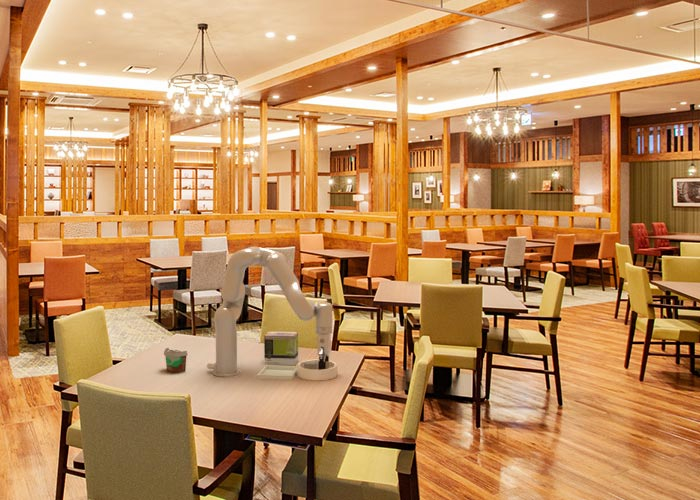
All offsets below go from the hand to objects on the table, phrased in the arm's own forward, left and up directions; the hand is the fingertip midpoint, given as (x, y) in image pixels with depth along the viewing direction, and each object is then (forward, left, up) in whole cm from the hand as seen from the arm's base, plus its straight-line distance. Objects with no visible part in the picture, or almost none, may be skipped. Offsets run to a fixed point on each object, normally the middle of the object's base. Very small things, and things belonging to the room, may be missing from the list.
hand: (323, 366), depth 278 cm
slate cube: (-6, 0, -3) cm, 7 cm away
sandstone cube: (0, 0, -3) cm, 3 cm away
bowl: (-3, 0, -4) cm, 5 cm away
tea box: (-23, +18, -4) cm, 30 cm away
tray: (-20, -2, -4) cm, 21 cm away
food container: (-69, -4, -4) cm, 70 cm away
